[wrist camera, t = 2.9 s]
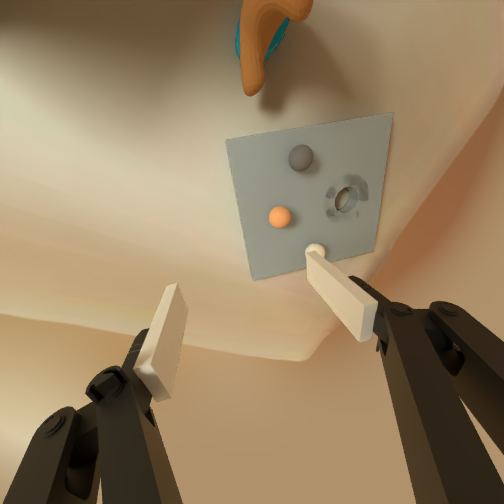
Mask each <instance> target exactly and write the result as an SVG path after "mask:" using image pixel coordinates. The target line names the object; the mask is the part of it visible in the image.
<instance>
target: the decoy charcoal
mask: <svg viewBox="0 0 504 504" xmlns="http://www.w3.org/2000/svg"><path fill="white" fill-rule="evenodd" d="M288 161H289V165H290V167H291V168H292V169H293V170H295V171H304V170H306V169H308V168H309V167H310V165H311V164H312V161H313V152H312V150H311V148H310V147H309V146H307V145H303V144H302V145H298V146H296V147H294V148H293V149H292V150H291V152H290V154H289V158H288Z"/></svg>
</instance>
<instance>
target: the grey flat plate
mask: <svg viewBox="0 0 504 504" xmlns="http://www.w3.org/2000/svg"><path fill="white" fill-rule="evenodd" d="M392 120H393V112H391V113H385V114H379V115H373V116H367V117H360V118H354V119H348V120H342V121H336V122H330V123H324V124H318V125H312V126H306V127H300V128H294V129H288V130H282V131H275V132H269V133H263V134H257V135H251V136H245V137H239V138H233V139H227V140H226V142H225V143H226V148H227V153H228V158H229V163H230V168H231V174H232V179H233V184H234V189H235V194H236V199H237V205H238V210H239V215H240V220H241V225H242V230H243V236H244V241H245V246H246V251H247V256H248V261H249V267H250V272H251V276H252V279H253V281H255V280H259V279H263V278H268V277H272V276H276V275H280V274H284V273H288V272H292V271H296V270H300V269H304V268H307V263H306V256H305V250H306V248H307V247H308V246H309V245H310V244H313V243H317V244H320V245H321V246H323V248H324V249H325V256H324V258H325V259H326V260H327V261H328V262H333V261H337V260H341V259H345V258H350V257H354V256H358V255H362V254H366V253H370V252H374V247H375V240H376V233H377V226H378V219H379V212H380V205H381V197H382V190H383V183H384V176H385V169H386V162H387V155H388V148H389V141H390V134H391V127H392ZM302 144H303V145H307V146H309V147H310V148H311V150H312V152H313V161H312V164H311V165H310V167H309V168H308V169H306V170H304V171H295V170H293V169H292V168H291V167H290V165H289V161H288V158H289V154H290V152H291V150H292V149H293V148H294V147H296V146H298V145H302ZM345 187H347V189H348V191H349V200H348V202H347V203H346V205H345V206H344V207H343V208H341V209H339V210H337V209H336V207H335V198H336V196H337V194H338V192H339V191H341V190H342V189H343V188H345ZM277 206H283V207H285V208H287V209H288V210H289V212H290V215H291V219H290V222H289V223H288V225H287V226H285V227H283V228H276V227H274V226H272V225H271V223H270V221H269V214H270V212H271V210H272V209H273V208H275V207H277Z"/></svg>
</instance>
